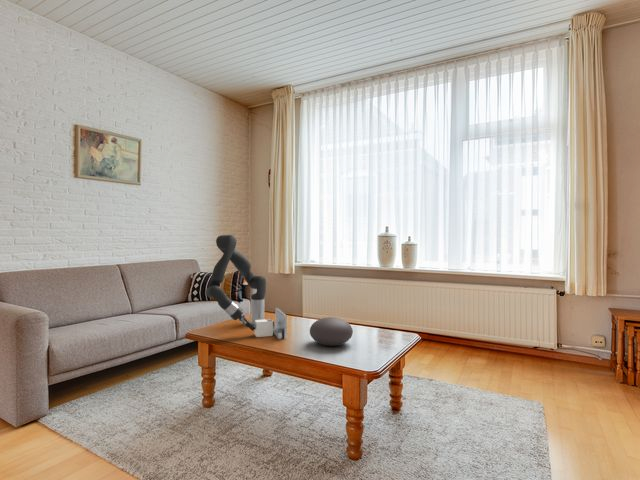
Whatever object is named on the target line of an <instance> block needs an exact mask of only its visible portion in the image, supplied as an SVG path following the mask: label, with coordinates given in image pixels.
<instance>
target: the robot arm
mask: <svg viewBox="0 0 640 480" xmlns="http://www.w3.org/2000/svg"><path fill="white" fill-rule="evenodd" d="M215 243H216V246H217V248H218V249H219V250H220V251H221V252H222V253H223V254H222V255H221V258H219V260H218V261H217V262H216V264H215V265H214V267H213V270H212V273H211V277H210V281H209V283H208V285H207V288H206V292H205V293H206V296H207V298H209V299H214V300H215V301H216V302H217V304H218V306H219V307H220V308H221V309H223V310H224V312H225V313H226V314H227V315H228V316H229V317H230V318H231V319H232V320H233V321H237V320H238V321H239V322H240V323H241V324H242V325H243V326H246V327H247V328H249V329H250V330H251V331H253V332H254V331H255V328H254V323H255V320H264V319H265V295H266V288H267V281H266V280H267V279H266V277H265V276H263V275H255V274H254V273H253V272H252V271H251V270H252V269H251V267H252V265H251V262H250V261H249V259H248V258H247V257H246V256H245V254H243V253H241V252H240V251H238V250H236V246H237V238H236V237H235V235H232V234H223V235H218V236H217V238H216V240H215ZM230 262H231V263H232V264H233V266H234V267H235V268H236V269H237V272H239V274H240V275H241V276H242V277H243V279H244V280H245V282H246V283H247V285H248V286H249V288H250V289H253V290H256V292H255V293H253V294H251V296H250V321H249V320H248V319H247V317H246V316H245V315H243V313H244V310H243V309H242V308H241V307H240V306H239V305H238V304H237V303H235V302H234V301H233V300H232V299H231V298H230V297H229V296H228V295H227V294H226V293H225V291H224V289H222V288H221V287H220V286H221V284H222V283H223V281H224V279H225V275H226V271H227V268H228V265H229V263H230Z"/></svg>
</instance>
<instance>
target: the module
mask: <svg viewBox="0 0 640 480" xmlns="http://www.w3.org/2000/svg"><path fill="white" fill-rule="evenodd" d="M273 321H274V320H273V319H272V318H266V319H265V318H264V320H255V323H254V325H253V327H254V328H255V329H254V336H255V338H263V337H272V336H273V335H274V333H273Z"/></svg>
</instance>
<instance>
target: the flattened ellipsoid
mask: <svg viewBox="0 0 640 480" xmlns="http://www.w3.org/2000/svg"><path fill="white" fill-rule="evenodd" d="M353 331H354V330H353V328H352V325H351V324H350V323H349V322H348V321H347V320H345V319H342V318H340V317H333V316H329V317H327V316H326V317H322V318H319V319H317V320H316V321H314V322H313V323H312V324H311V326H310V327H309V335H310V337H311V338H312V340H314V341H315V342H316V343H318V344H321V345H324V346H329V347H330V346H331V347H333V346H335V347H336V346H340V345H342V344H346V343H347V342H349V340H351V339H352V337H353V333H354V332H353Z"/></svg>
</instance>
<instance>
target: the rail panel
mask: <svg viewBox="0 0 640 480" xmlns="http://www.w3.org/2000/svg"><path fill="white" fill-rule="evenodd" d="M274 312H275V314H274V315H275V318H274V319H275V320H272V321H273V335H274V336H275V337H276V338H277V339H278V340H282V339H284V340H287V335H288V334H287V331H288V330H287V327H288V326H287V324H288V322H287V318H288V317H287V314H285V313H284V312H283V310H281V309H279V308H278V307H275V311H274Z"/></svg>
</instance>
